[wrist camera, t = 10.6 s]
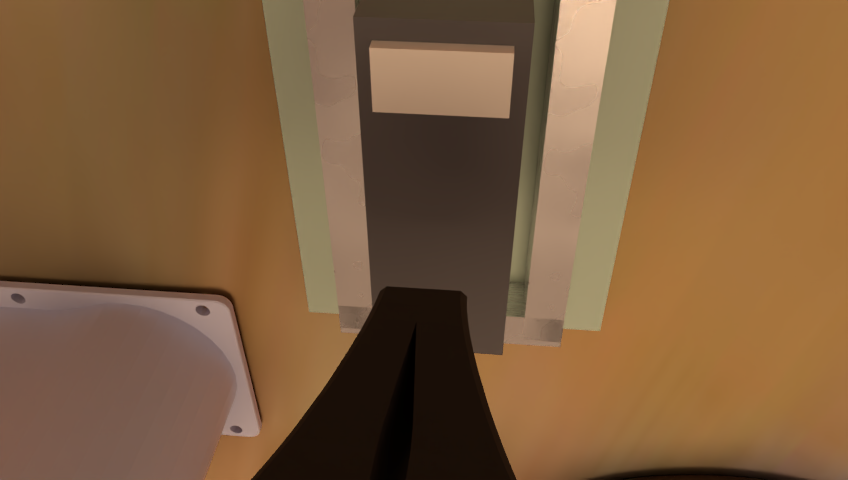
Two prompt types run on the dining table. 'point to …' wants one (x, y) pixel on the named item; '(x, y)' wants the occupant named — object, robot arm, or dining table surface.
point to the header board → (540, 165)
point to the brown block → (444, 146)
